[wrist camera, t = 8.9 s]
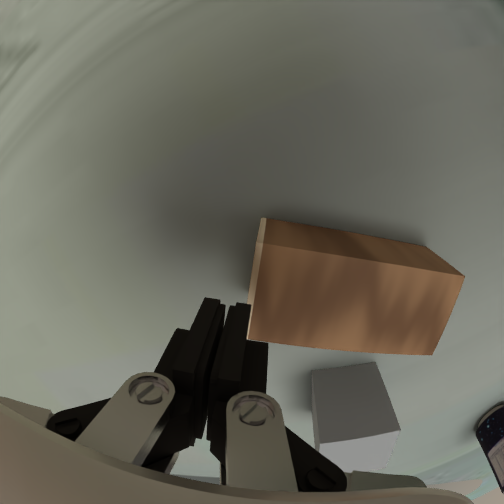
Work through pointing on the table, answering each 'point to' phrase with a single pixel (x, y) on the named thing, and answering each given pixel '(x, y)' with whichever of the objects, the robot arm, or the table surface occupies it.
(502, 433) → the beverage can
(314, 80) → the table surface
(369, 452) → the slate block
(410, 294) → the walnut block
